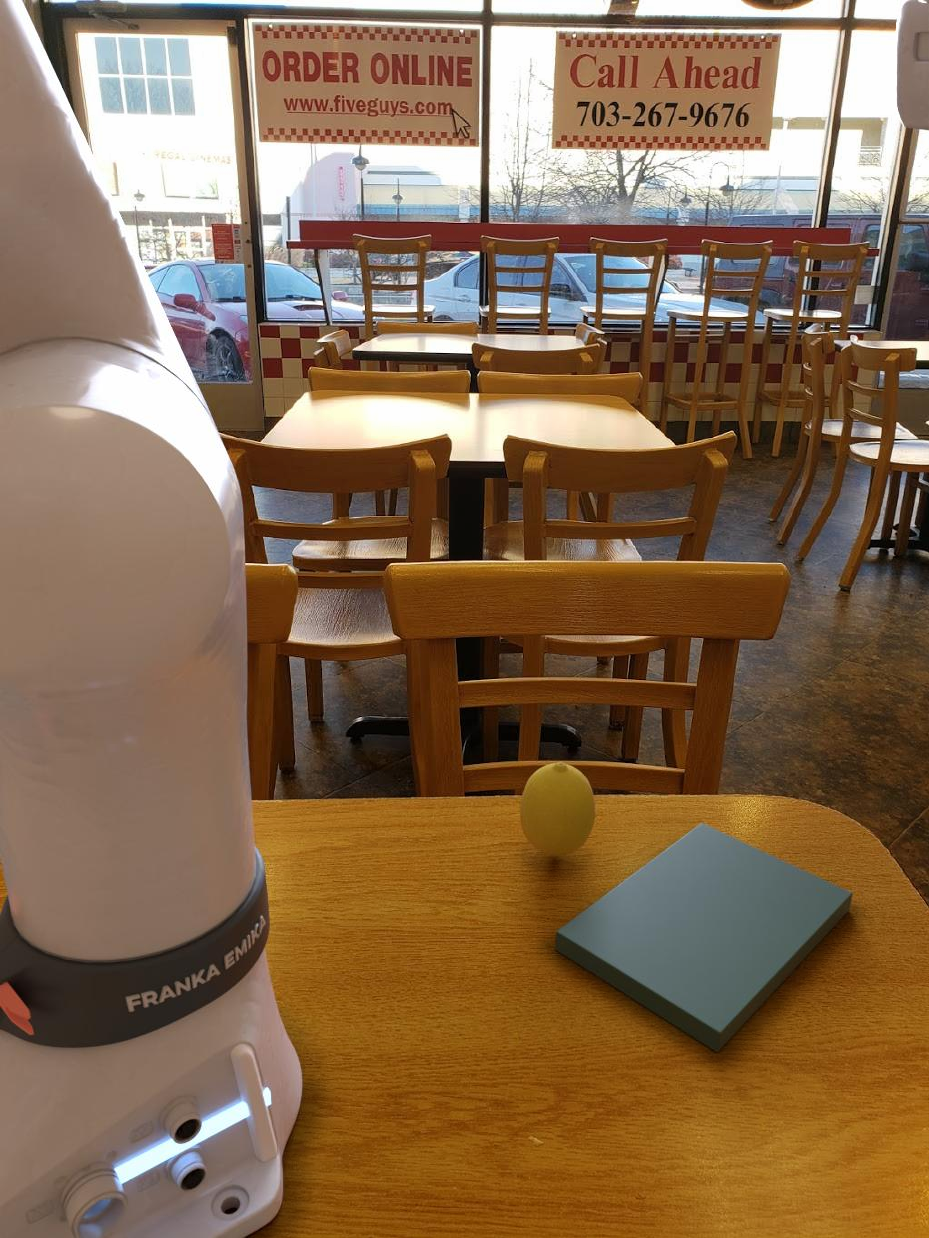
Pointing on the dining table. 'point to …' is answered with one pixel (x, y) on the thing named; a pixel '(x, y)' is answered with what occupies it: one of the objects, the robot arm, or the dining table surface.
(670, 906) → the cutting board
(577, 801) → the lemon
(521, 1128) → the dining table surface
